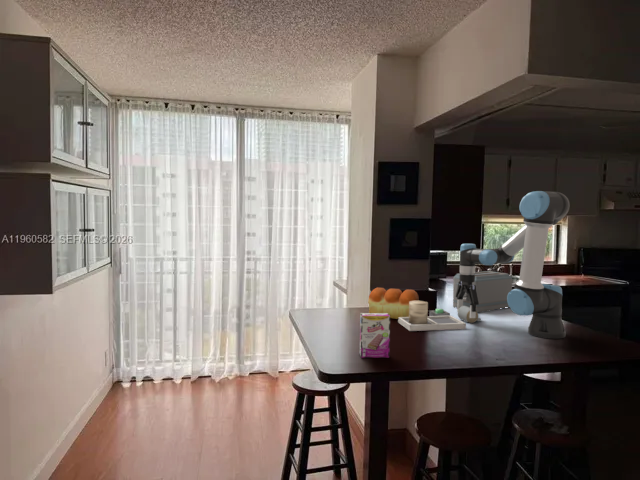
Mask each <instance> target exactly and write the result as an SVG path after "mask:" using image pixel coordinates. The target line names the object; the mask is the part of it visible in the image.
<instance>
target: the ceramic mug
mask: <svg viewBox="0 0 640 480" xmlns="http://www.w3.org/2000/svg"><path fill="white" fill-rule="evenodd" d="M457 316H458V319H459V320H460V321H462V322H465V323H470V324H473V323H476V322H477V321H478V322H481V320H482V318H480V317H479V312H478V313H477V311H476V318H470V307H469V306H462V307H460V308H459V310H458V312H457Z"/></svg>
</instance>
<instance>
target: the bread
mask: <svg viewBox="0 0 640 480" xmlns="http://www.w3.org/2000/svg"><path fill="white" fill-rule="evenodd" d="M410 301H420V300H419V294H418V292H417V291H415V289H409V288H408V289H407V288H406V289H405V290H403V291H402V290H401V289H400V288H389V289H387V290H386V289H385V288H384V287H376V288H374V289H372V291H371V292H370V293H369V295H368V301H367V303H368V313H388V314H389V315H390V319H396V320H398V317H409V302H410Z"/></svg>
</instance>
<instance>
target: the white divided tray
mask: <svg viewBox="0 0 640 480" xmlns="http://www.w3.org/2000/svg"><path fill="white" fill-rule="evenodd" d="M397 323H398V324H400V325H401V326H403V327H404V328H405V329H406V330H408V331H409V332H417V331H419V332H420V331H421V332H422V331H441V330H442V331H443V330H444V331H445V330H466V329H467V322H465V321H463V320H461V319H459V318H456V317H454V316H452V315H450V316H428V321H427V324H419V325H416V324H411V323H409V317H398V319H397Z"/></svg>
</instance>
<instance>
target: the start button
mask: <svg viewBox="0 0 640 480" xmlns="http://www.w3.org/2000/svg"><path fill="white" fill-rule="evenodd" d="M435 310H436V313H443V310H444V309H443V308H435Z"/></svg>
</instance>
